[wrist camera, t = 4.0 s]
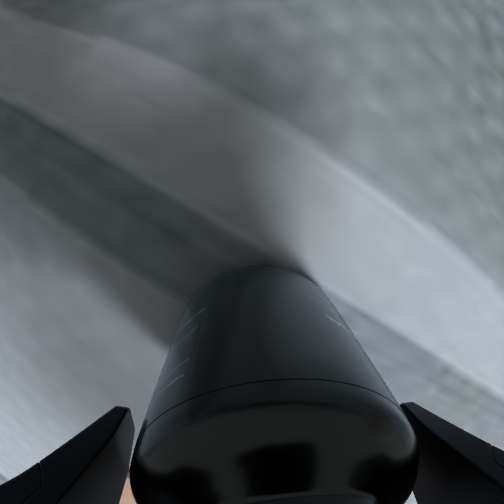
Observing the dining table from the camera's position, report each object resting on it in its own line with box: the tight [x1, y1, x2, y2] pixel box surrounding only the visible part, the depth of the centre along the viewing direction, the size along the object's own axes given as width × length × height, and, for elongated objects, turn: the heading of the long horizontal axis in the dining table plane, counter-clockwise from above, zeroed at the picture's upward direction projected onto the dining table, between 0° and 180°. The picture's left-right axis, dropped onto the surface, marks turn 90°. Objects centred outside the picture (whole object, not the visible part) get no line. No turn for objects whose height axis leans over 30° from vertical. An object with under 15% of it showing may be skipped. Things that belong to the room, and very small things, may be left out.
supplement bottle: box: [129, 266, 419, 504], centre depth 8 cm, size 7×7×12 cm
